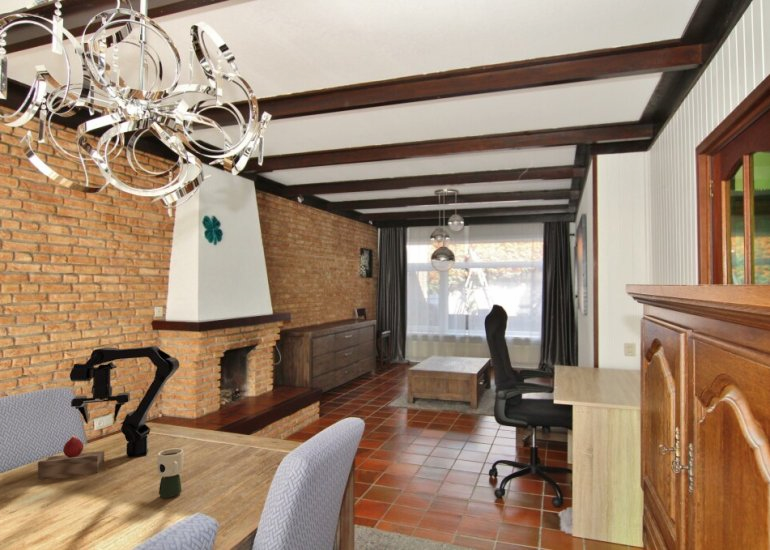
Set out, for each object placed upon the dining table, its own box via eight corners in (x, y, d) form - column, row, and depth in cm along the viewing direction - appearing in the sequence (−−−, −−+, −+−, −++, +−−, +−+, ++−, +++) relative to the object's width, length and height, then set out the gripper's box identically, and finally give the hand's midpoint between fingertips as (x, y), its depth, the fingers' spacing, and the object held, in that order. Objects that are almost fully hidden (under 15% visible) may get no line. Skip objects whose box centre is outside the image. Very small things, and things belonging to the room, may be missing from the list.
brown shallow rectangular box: (104, 461, 171) (104, 444, 171) (97, 473, 160) (97, 455, 160) (48, 468, 165) (49, 451, 165) (37, 480, 154) (37, 462, 154)
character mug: (152, 493, 143) (152, 450, 144) (176, 486, 148) (177, 445, 149) (162, 505, 135) (163, 459, 136) (188, 497, 140) (188, 453, 140)
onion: (86, 456, 165) (87, 433, 165) (74, 462, 159) (75, 438, 160) (71, 455, 166) (72, 433, 166) (58, 461, 160) (59, 438, 160)
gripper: (132, 375, 189) (131, 414, 189) (78, 379, 183) (77, 419, 182) (128, 380, 179) (127, 421, 178) (71, 384, 172) (70, 427, 172)
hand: (101, 422), depth 178 cm, fingers open, 9 cm apart
